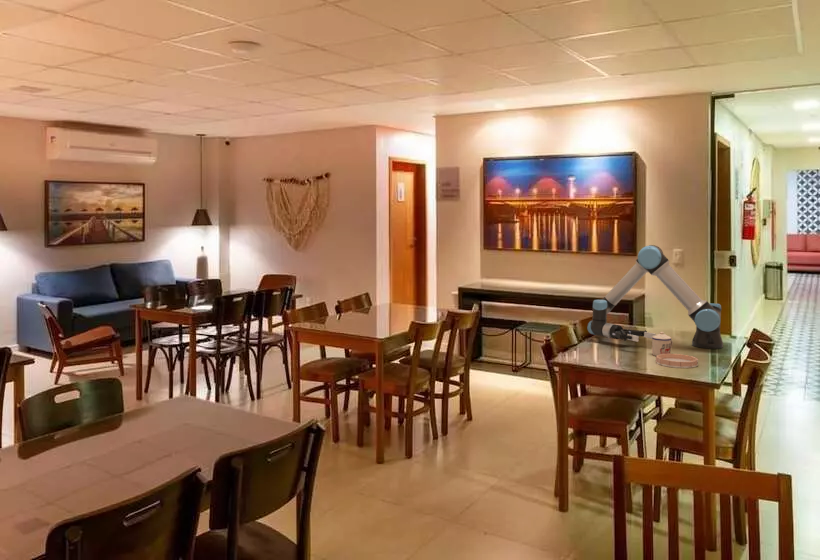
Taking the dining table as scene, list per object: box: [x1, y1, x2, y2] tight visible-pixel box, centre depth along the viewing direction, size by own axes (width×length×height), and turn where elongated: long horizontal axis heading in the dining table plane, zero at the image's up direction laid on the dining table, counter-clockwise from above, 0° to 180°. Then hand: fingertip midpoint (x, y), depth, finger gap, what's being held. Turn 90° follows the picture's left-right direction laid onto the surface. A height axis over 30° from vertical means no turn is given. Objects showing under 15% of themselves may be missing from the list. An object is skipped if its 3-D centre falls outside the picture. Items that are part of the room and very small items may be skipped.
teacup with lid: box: [651, 331, 674, 357], centre depth 333 cm, size 12×9×12 cm
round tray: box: [655, 353, 699, 369], centre depth 313 cm, size 18×18×3 cm
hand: (646, 337), depth 341 cm, fingers open, 13 cm apart
